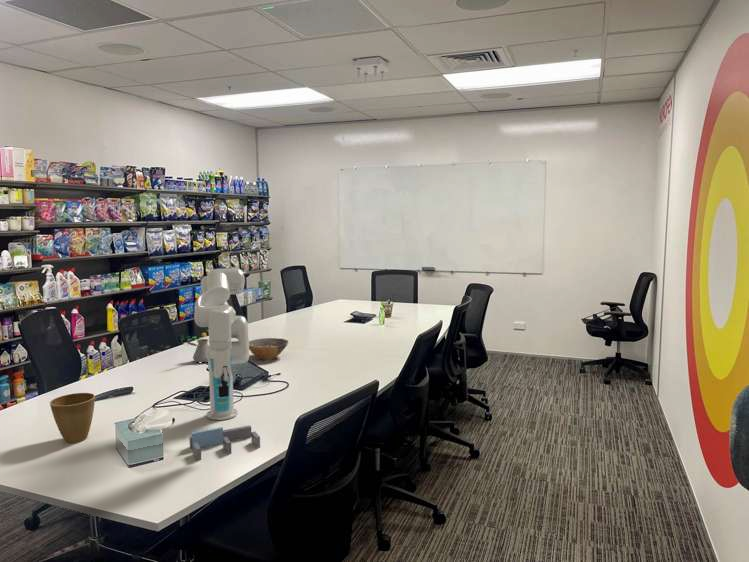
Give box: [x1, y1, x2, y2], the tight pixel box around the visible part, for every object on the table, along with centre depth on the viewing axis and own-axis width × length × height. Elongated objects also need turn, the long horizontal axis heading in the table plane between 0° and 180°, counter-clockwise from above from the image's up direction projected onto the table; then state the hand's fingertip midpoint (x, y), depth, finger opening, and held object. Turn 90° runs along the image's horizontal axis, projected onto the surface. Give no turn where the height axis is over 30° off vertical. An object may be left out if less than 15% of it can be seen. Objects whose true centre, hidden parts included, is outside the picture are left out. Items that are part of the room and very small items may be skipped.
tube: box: [210, 357, 232, 412], centre depth 193 cm, size 7×5×19 cm, turn 115°
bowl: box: [249, 337, 289, 361], centre depth 327 cm, size 25×25×10 cm
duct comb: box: [188, 424, 261, 461], centre depth 199 cm, size 13×22×6 cm, turn 119°
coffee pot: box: [184, 338, 209, 363], centre depth 314 cm, size 21×12×15 cm, turn 164°
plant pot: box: [49, 392, 96, 444], centre depth 206 cm, size 15×15×16 cm
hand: (221, 394), depth 194 cm, fingers closed on tube, 4 cm apart
